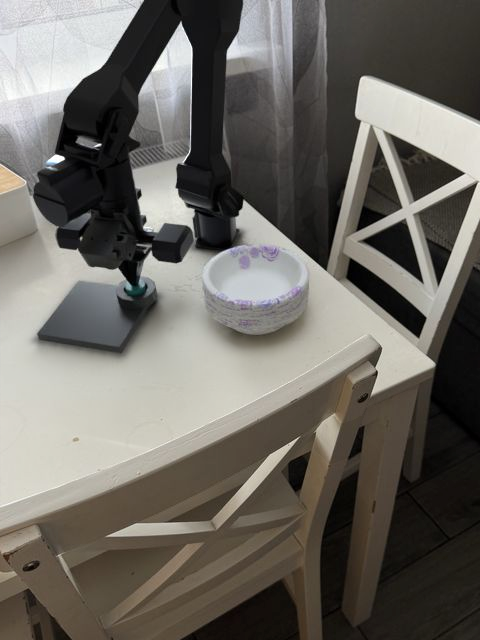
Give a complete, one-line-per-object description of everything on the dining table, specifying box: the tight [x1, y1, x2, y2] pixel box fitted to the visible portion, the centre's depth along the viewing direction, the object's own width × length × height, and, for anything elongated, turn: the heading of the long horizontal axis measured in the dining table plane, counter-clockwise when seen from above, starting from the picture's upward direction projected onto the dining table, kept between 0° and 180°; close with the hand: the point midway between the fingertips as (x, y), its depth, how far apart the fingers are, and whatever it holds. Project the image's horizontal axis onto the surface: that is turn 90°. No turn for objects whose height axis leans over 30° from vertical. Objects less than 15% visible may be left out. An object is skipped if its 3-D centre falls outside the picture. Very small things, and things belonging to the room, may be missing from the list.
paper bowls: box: [201, 243, 310, 336], centre depth 86 cm, size 15×15×8 cm
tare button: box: [125, 280, 146, 296], centre depth 90 cm, size 3×3×2 cm
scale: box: [36, 276, 158, 354], centre depth 89 cm, size 14×14×3 cm
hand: (135, 284), depth 89 cm, fingers closed, pressing on tare button
